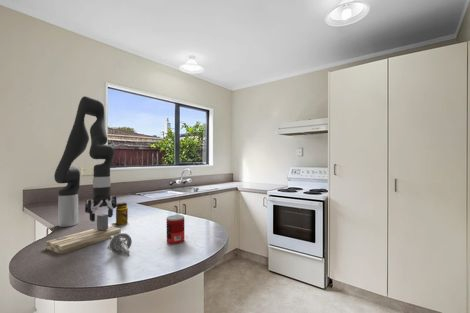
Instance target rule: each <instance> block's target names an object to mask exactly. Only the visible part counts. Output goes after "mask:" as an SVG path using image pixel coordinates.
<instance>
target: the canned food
mask: <svg viewBox="0 0 470 313" xmlns="http://www.w3.org/2000/svg"><path fill="white" fill-rule="evenodd" d="M166 242H167V243H168V244H170V245H178V244H181V243H183V242H185V215H181V214H173V215H169V216H167V217H166Z"/></svg>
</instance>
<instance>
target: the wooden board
mask: <svg viewBox="0 0 470 313" xmlns="http://www.w3.org/2000/svg"><path fill="white" fill-rule="evenodd" d="M118 232H120V233H122V229H121V228H120V227H117V226H114V227H112V225H108V229H107V230H103V231H100V230H97V227H94V228H91V229H87V230H84V231H80V232H76V233H73V234H69V235H65V236H61V237H57V238H55V239H50V240H46V241H45V249H46V248H47V249H46V250H48V249H49V250H48V251H51V252H54V253H57V254H60V255H64V254H66V253H69V252H72V251H76V250H78V249H81V248H84V247H87V246H91V245H93V244H96V243H100V242H103V241H106V240H108V239H112V237H110V236H113V235H114V234H115V233H116V234H117V233H118Z"/></svg>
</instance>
